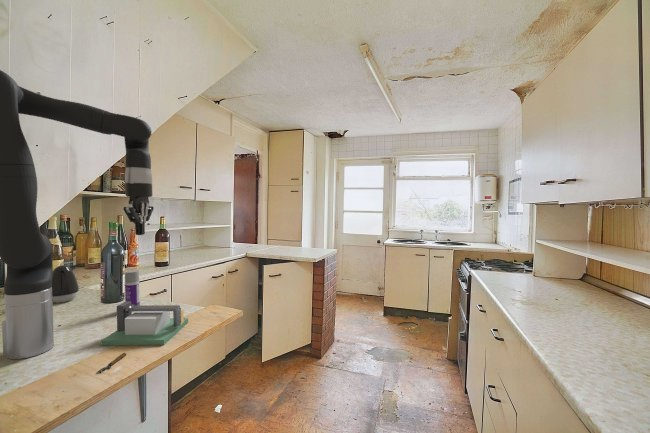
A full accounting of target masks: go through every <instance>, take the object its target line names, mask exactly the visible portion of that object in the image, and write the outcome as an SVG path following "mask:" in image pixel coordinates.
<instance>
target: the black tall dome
mask: <svg viewBox="0 0 650 433" xmlns="http://www.w3.org/2000/svg"><path fill="white" fill-rule="evenodd" d="M79 291H80V287H79V283H78V280H77V277H76V274H75V273H74V271H73V269H72V268H71V267H70V266H69V265H65V264H61V265H58V266H56V267H55V268H53V275H52V303H54V302H63V303H67V302H66V301H68V302H70V301H72V300H74V299H75V298H76V297H77V295H78V292H79Z"/></svg>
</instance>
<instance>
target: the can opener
mask: <svg viewBox="0 0 650 433" xmlns="http://www.w3.org/2000/svg"><path fill="white" fill-rule="evenodd" d="M126 356H127V353H126V352H123V353H121V354H119V355H118V356H116V358H115V359H114V360H112V361H111V362H109V364H107V366H104V367H102V368H100V369H99V370H98V371H97V372H96V373H95V375H97V374H102V372H103V371H104V372H105V371H106V370H109V369H111V368H112V366H114V365H115V364H116V363H118V362H119V361H121V360H122V359H124V358H125V357H126Z"/></svg>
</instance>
